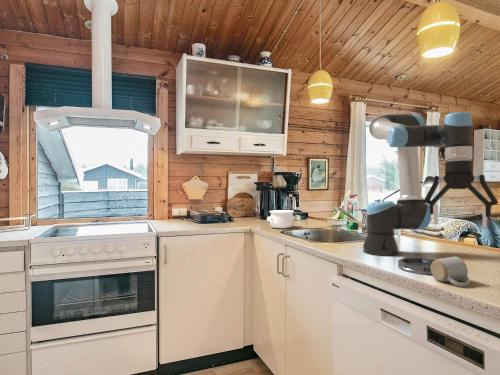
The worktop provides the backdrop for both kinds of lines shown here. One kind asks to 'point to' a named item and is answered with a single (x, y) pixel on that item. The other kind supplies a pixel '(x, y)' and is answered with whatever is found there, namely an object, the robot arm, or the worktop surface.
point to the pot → (281, 218)
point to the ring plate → (416, 265)
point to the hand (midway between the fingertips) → (459, 225)
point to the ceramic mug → (450, 271)
